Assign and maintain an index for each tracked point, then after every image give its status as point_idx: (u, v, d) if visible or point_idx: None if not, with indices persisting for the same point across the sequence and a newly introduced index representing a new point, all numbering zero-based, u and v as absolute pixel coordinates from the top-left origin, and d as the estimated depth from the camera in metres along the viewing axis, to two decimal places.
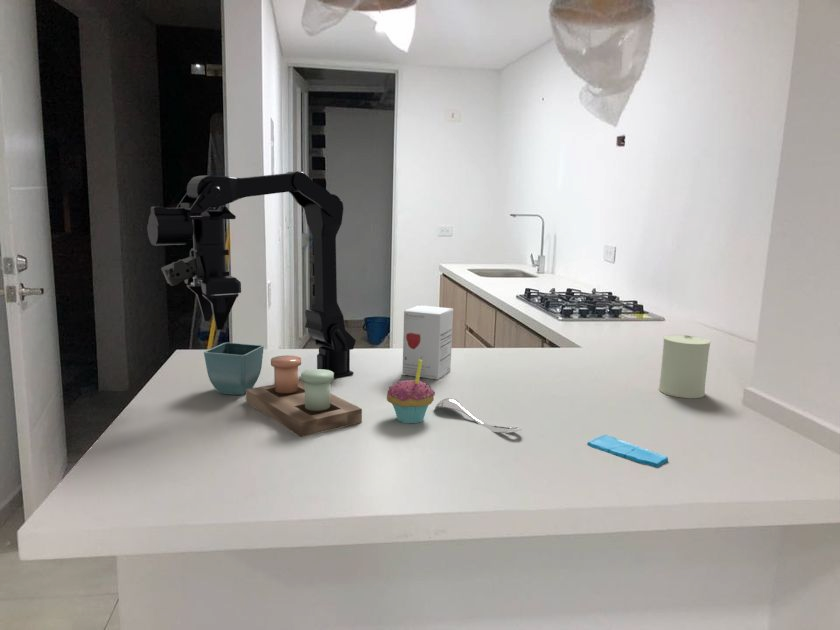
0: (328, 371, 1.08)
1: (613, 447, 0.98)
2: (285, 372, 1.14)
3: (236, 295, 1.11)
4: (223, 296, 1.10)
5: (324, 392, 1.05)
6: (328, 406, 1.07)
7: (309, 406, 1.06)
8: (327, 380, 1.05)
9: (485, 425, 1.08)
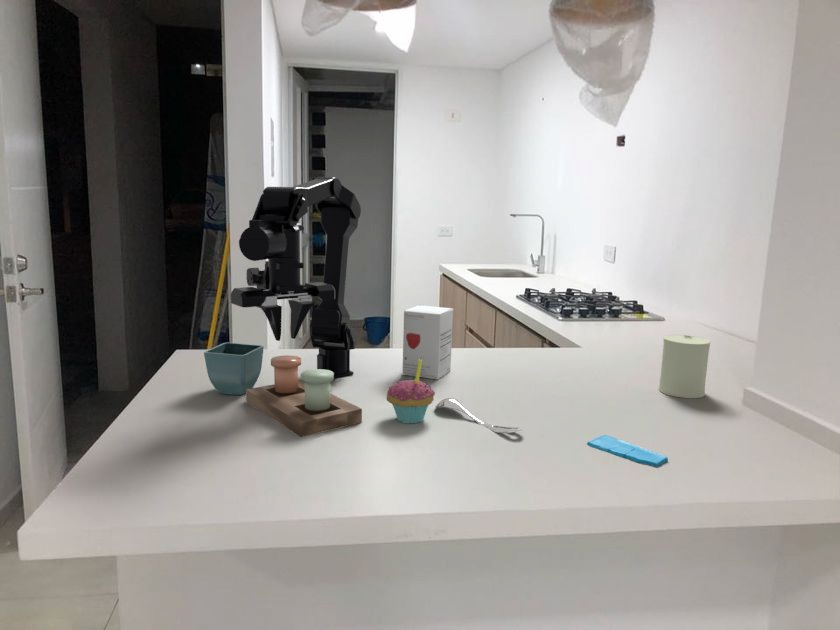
0: (328, 371, 1.08)
1: (612, 446, 0.99)
2: (285, 372, 1.14)
3: (265, 308, 1.09)
4: (259, 306, 1.11)
5: (324, 392, 1.05)
6: (328, 406, 1.07)
7: (309, 406, 1.06)
8: (327, 380, 1.05)
9: (486, 425, 1.08)
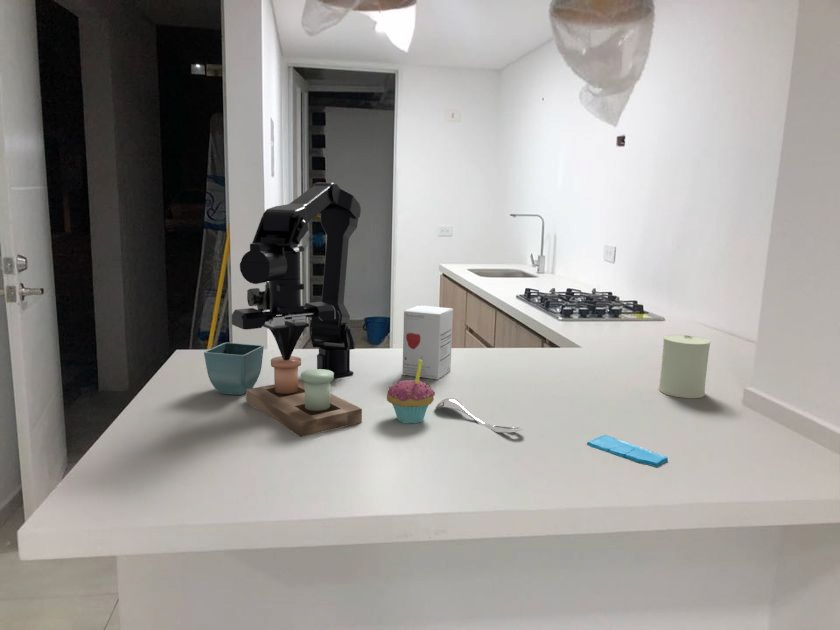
0: (328, 371, 1.08)
1: (612, 446, 0.99)
2: (285, 373, 1.14)
3: (273, 329, 1.10)
4: (267, 327, 1.12)
5: (324, 392, 1.05)
6: (328, 406, 1.07)
7: (309, 406, 1.06)
8: (327, 380, 1.05)
9: (486, 425, 1.08)
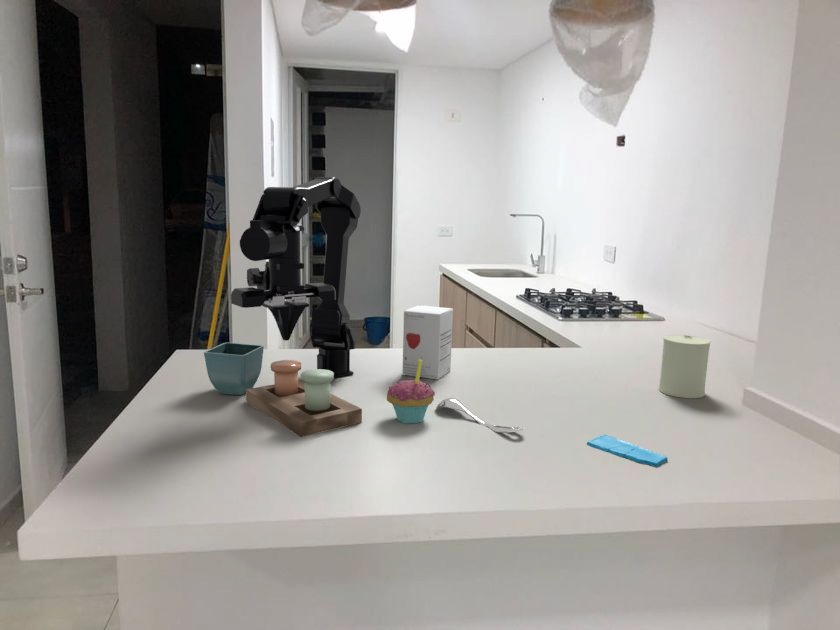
0: (328, 371, 1.08)
1: (612, 446, 0.99)
2: (285, 377, 1.14)
3: (273, 308, 1.09)
4: (267, 306, 1.11)
5: (324, 392, 1.05)
6: (328, 406, 1.07)
7: (309, 406, 1.06)
8: (327, 380, 1.05)
9: (486, 425, 1.08)
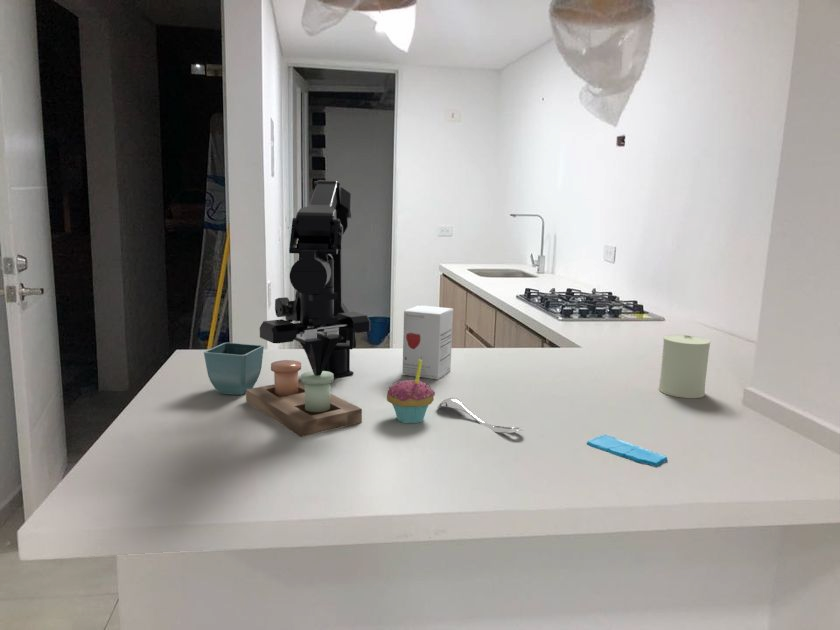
0: (328, 372, 1.08)
1: (612, 446, 0.99)
2: (285, 377, 1.14)
3: (305, 342, 1.01)
4: (298, 340, 1.03)
5: (324, 393, 1.05)
6: (328, 407, 1.07)
7: (309, 407, 1.06)
8: (327, 382, 1.05)
9: (487, 425, 1.08)
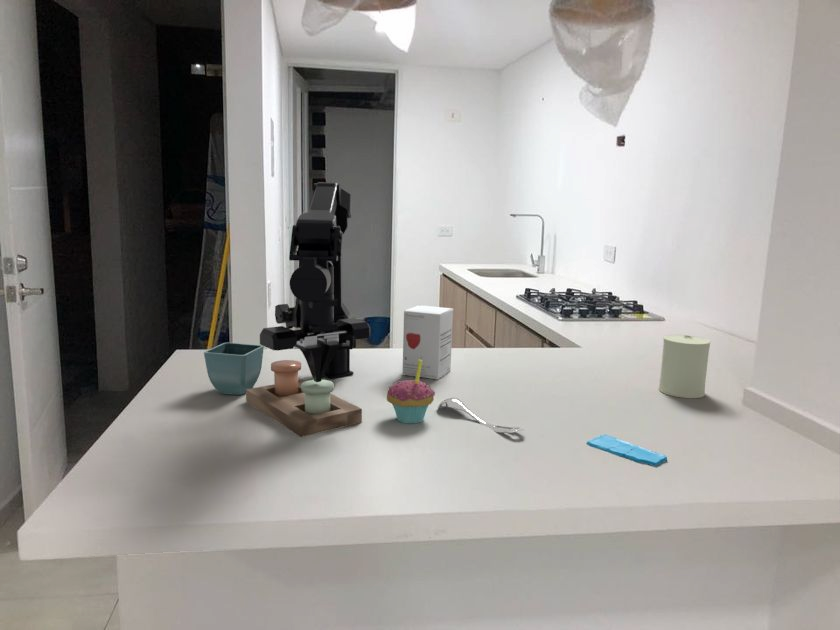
0: (328, 381, 1.08)
1: (612, 446, 0.99)
2: (285, 377, 1.14)
3: (305, 349, 1.01)
4: (298, 346, 1.03)
5: (324, 402, 1.06)
6: None
7: None
8: (327, 391, 1.05)
9: (487, 425, 1.08)
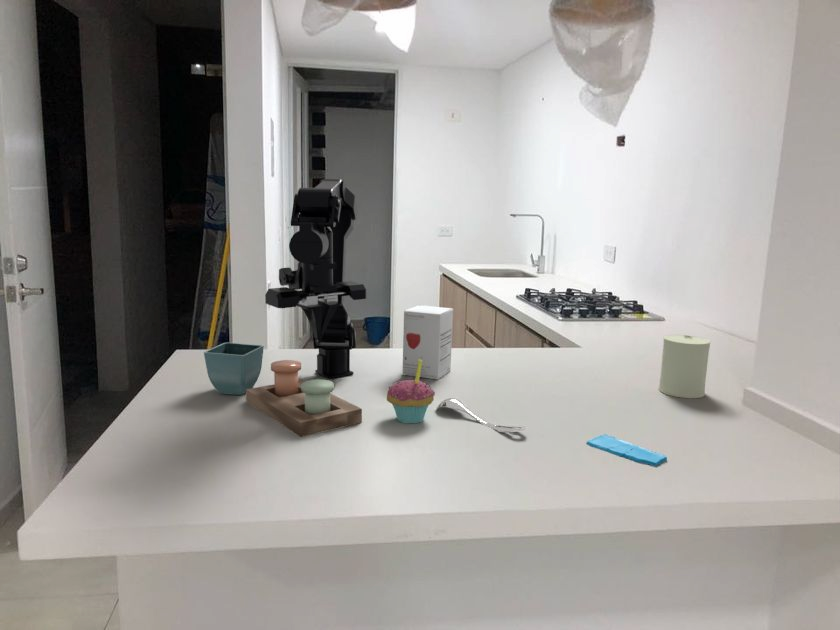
0: (328, 381, 1.08)
1: (612, 446, 0.99)
2: (285, 377, 1.14)
3: (306, 308, 1.11)
4: (300, 306, 1.13)
5: (324, 402, 1.06)
6: None
7: None
8: (327, 391, 1.05)
9: (488, 425, 1.08)
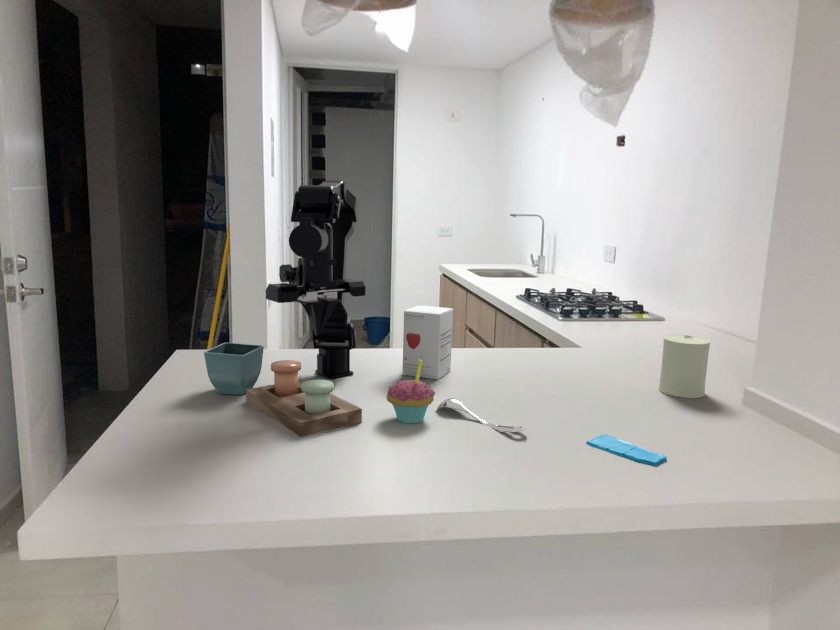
0: (328, 381, 1.08)
1: (612, 446, 0.99)
2: (285, 377, 1.14)
3: (306, 303, 1.12)
4: (300, 301, 1.14)
5: (324, 402, 1.06)
6: None
7: None
8: (327, 391, 1.05)
9: (489, 425, 1.08)
